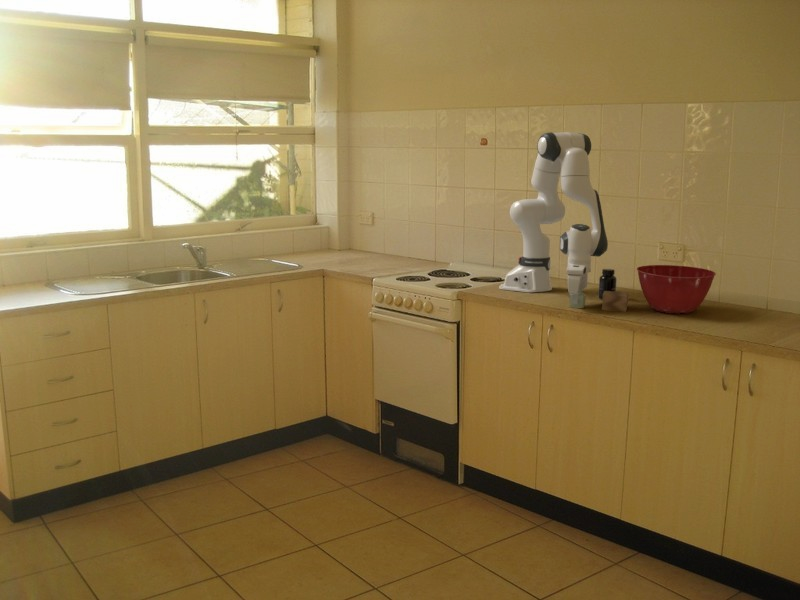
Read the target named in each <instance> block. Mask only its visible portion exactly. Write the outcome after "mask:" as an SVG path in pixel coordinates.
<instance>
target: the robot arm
mask: <svg viewBox="0 0 800 600" xmlns="http://www.w3.org/2000/svg"><path fill="white" fill-rule="evenodd" d="M536 147H537V157H536V158H535V163H534V167H533V172H532V175H531V182H530V183H531V186H532V188H533V190H535V191H536V192H538V193H537V194H538V195H537V198H524V199H521V200H520V199H519V200H517V201H514V202H513V203H512V204H511V206H510V207H509V208H510V209H509V217H510V220H511V221H512V222H513V224H515V225H516V227H518V229H519V230H520V233H521V236H522V244H523V245H522V246H523V247H522V248H523V249H522V250H523V251H522V253H523V254H522V255H520V257H519V258H518V259H517V261H518V265H516V266H515V267H513V268H512V269H511V270H509V271H508V272H507V273H506V275H505V278H504V283H501V284H500V285H499V287H498V289H499V290H505V291H512V292H522V293H538V292H539V293H540V292H541V293H542V292H549V291H552V290H553V287H552V284H551V283H552V282H551V279H550V278H551V276H550V269H551V256H550V238H549V237H548V235H547V234H545V233H543V232H542V230H541V225H552V224H554V223H555V224H556V223H558V222H560V221H562V220H563V219H564V218H565V214H566V206H565V204H564V202H563V201H562V200H561V199H560V196H559V193H558V188H559V187H558V186H559V181H560V187H561V191H562V193H563V194H564V195H565V196H566V197H567V198H568V199H570V200H573V201H576V202H578V203H580V204H583V205H585V206H586V207H587V208H588V210H589V213H590V219H591V226H592V227H590V226H589V225H587V224H584V223H583V224H582V223H577V224H576V223H575V224H572V225H570V228H569V230H567V231H565V232H563V234H561V236H560V237H559V250H560V251H561V252H562V254H564V255H566V256H567V262H566V264H567V265H566V266H567V267H566V272H565V274H566V275H567V290H568V291H567V292H568V294H569V295H570V294H571V295H572V296H573V304H578V301H579V299H578V295H579V293H584V289H585V288H587V287H588V273H590V272H591V270H592V269H591V266H592V257H601V256H603V255H604V254H605V253H606V252H607V251H608V245H609V242H608V237H607V232H606V229H605V224H604V223H605V222H604V217H603V210H602V206H601V205H602V204H601V200H600V199H601V198H600V196H599V192H598V191H597V190H596V189H594V188H593V186H592V183H591V177H590V176H591V175H590V173H591V172H590V161H589V155H590V153H591V151H592V141H591V138H590V137H589V136H588V135H587V134H584V133H581V132H571V131H563V132H559V131H558V132H551V131H550V132H545V133H543V134H541V135H540V136H539V138H538V141H537V146H536ZM591 228H592V229H591Z"/></svg>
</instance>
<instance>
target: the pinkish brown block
mask: <svg viewBox="0 0 800 600" xmlns="http://www.w3.org/2000/svg"><path fill="white" fill-rule="evenodd" d="M601 300H602V301H601V310H602V311H610V310H617V311H616V312H627V311H626V310H628V304H629V303H628V302H629V292H628V291H617V290H616V291H604V293H603V297H602V299H601Z"/></svg>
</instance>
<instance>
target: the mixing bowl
mask: <svg viewBox="0 0 800 600" xmlns="http://www.w3.org/2000/svg"><path fill="white" fill-rule="evenodd" d="M636 270H637V273H638V274H637V275H638V279H639V280H638V281H639V284H640V287H641V290H642V293H643V297H644V298H645V300H646V302H647V304H648V305H649V306H650V307H651V308H653V309H654V310H655V311H657V312H660V313H664V312H665V313H666V314H673V313H677V314H679V315H680V313H685V314H689V313H692V312H694V311H695V310H697V309H698V308H700V306H701V304H702V303H703V302H704V300H705V298H706V297H707V295H708V293H709V291H710V289H711V286H712V283H713V281H714V278H715V276H716V275H717V273H716V272H715V271H713V270H710V269H707V268H702V267H701V268H700V267H694V266H686V265H672V264H671V265H670V264H650V265H642V266H638V267H637V268H636ZM665 313H664V314H665Z"/></svg>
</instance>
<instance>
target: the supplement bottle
mask: <svg viewBox="0 0 800 600" xmlns="http://www.w3.org/2000/svg"><path fill="white" fill-rule="evenodd" d="M615 272H616V271H615V269H614V268H602V272H601V274H602V275H600V276H599V278H598V294H597V296H598V298H599V299H600V300H602V297H603V293H604V291H616V292H617V276H615Z"/></svg>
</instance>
